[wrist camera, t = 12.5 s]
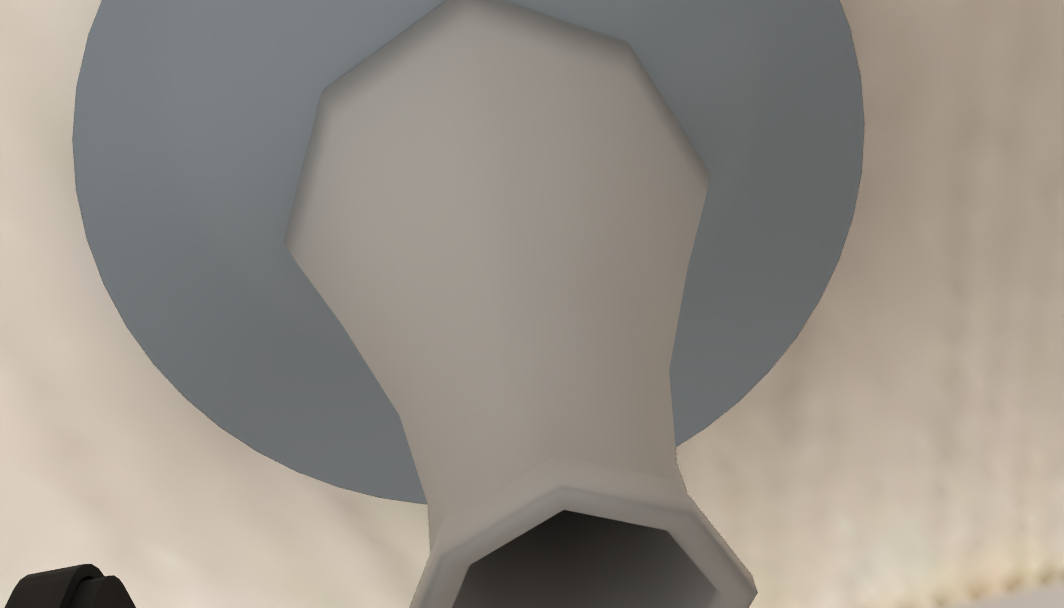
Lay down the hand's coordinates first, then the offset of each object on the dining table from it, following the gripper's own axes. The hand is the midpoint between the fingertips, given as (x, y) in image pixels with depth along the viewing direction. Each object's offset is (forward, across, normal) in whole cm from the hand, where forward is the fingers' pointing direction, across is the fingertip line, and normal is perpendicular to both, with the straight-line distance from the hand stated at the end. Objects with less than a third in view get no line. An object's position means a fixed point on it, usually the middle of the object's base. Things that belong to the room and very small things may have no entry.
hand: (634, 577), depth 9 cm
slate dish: (+11, +1, 0) cm, 11 cm away
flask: (+10, +1, 0) cm, 10 cm away
